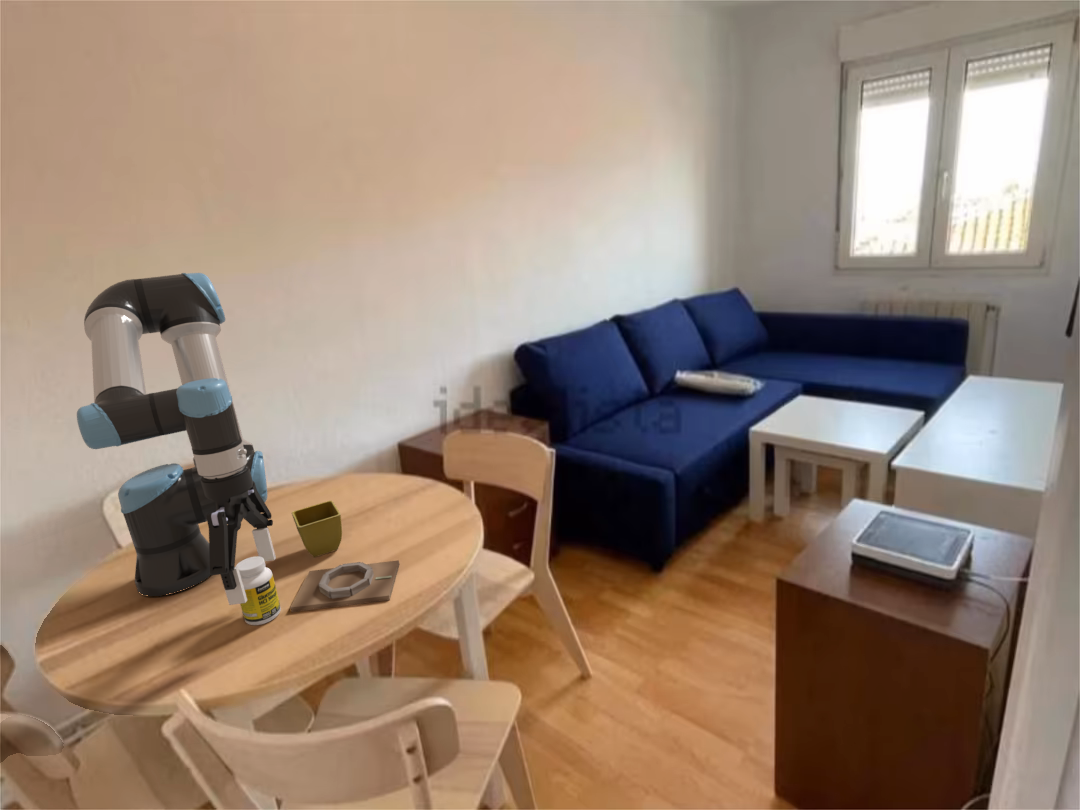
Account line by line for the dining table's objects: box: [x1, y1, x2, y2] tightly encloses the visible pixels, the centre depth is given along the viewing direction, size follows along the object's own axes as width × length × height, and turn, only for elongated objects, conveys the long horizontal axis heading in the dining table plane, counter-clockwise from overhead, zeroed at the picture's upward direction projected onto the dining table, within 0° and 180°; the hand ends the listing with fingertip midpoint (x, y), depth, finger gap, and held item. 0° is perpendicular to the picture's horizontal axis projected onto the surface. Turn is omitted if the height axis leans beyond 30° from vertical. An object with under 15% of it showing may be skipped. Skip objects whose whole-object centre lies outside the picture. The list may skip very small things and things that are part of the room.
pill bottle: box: [235, 556, 282, 626], centre depth 107 cm, size 6×6×11 cm
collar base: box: [290, 559, 400, 613], centre depth 115 cm, size 18×12×2 cm, turn 94°
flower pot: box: [291, 500, 343, 558], centre depth 129 cm, size 9×9×9 cm
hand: (254, 580), depth 106 cm, fingers open, 13 cm apart
